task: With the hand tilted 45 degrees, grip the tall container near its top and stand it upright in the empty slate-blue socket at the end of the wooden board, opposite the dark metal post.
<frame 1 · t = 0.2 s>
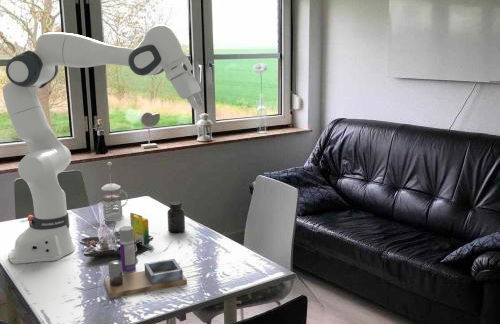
hand: (199, 107, 180), 54 cm above the table, tool tilted 25°, fingers open, 8 cm apart
wooden board: (145, 283, 171), on the table
metal post: (116, 283, 167), resting on wooden board
crayon box: (140, 242, 205), on the table
french press: (115, 217, 234), on the table
container: (128, 270, 180), on the table
supplement bottle: (176, 231, 217), on the table
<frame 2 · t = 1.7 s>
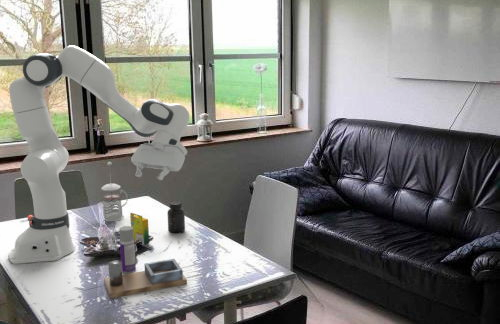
hand: (148, 177, 184), 29 cm above the table, tool tilted 45°, fingers open, 8 cm apart
nothing on the table moved.
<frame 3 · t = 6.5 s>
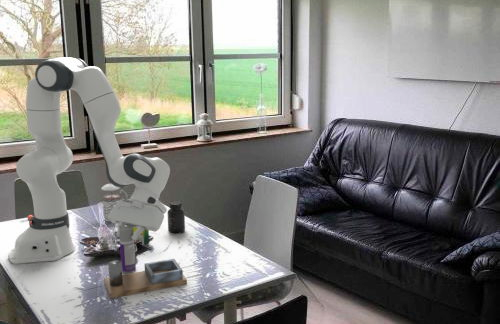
hand: (125, 237, 177), 12 cm above the table, tool tilted 45°, fingers closed on container, 4 cm apart
container: (128, 270, 180), on the table, touching gripper
everything else where it was.
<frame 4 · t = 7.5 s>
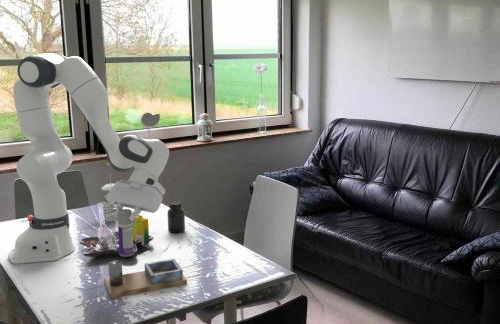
hand: (123, 218, 176), 19 cm above the table, tool tilted 45°, fingers closed on container, 4 cm apart
container: (126, 254, 179), point 6 cm above the table, touching gripper
everything else where it was.
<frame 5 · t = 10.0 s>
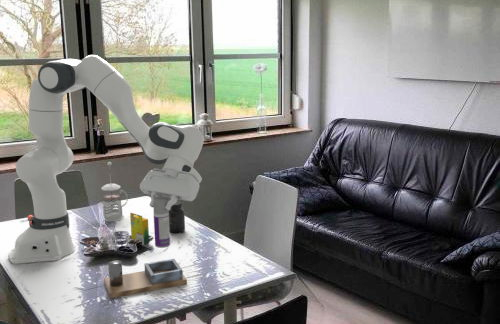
hand: (159, 207, 167), 25 cm above the table, tool tilted 45°, fingers closed on container, 4 cm apart
container: (162, 245, 170), point 12 cm above the table, touching gripper
everything else where it was.
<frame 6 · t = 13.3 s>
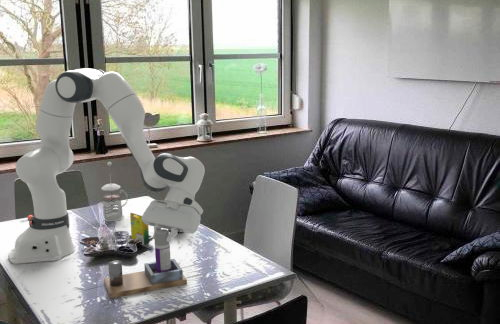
hand: (160, 240, 169), 14 cm above the table, tool tilted 45°, fingers closed on container, 3 cm apart
container: (164, 276, 173), point 1 cm above the table, touching gripper, wooden board
everything else where it was.
when the fingers open (14 cm above the table, at t = 13.6 s): container stays where it is, resting on wooden board.
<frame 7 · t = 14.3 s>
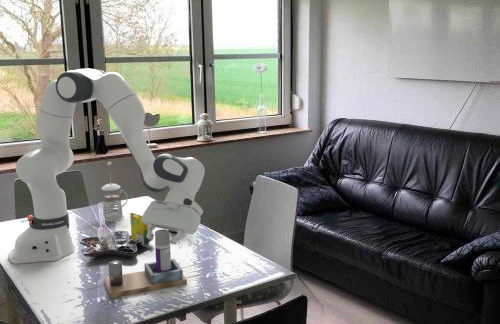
hand: (160, 240, 169), 14 cm above the table, tool tilted 45°, fingers open, 8 cm apart
container: (164, 276, 173), point 1 cm above the table, touching wooden board
everything else where it was.
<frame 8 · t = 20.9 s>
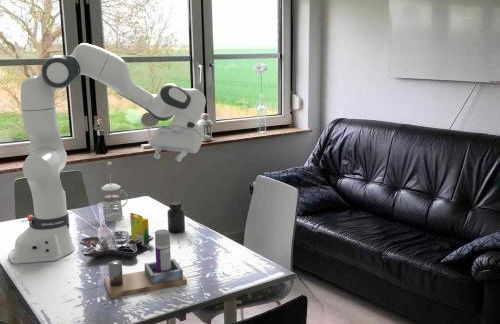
hand: (166, 159, 190), 34 cm above the table, tool tilted 45°, fingers open, 8 cm apart
nothing on the table moved.
at the end: container 0.2 cm from the target spot on the wooden board, point 1.3 cm above the wooden board's base; container tilted 0°; the gripper is holding nothing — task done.
